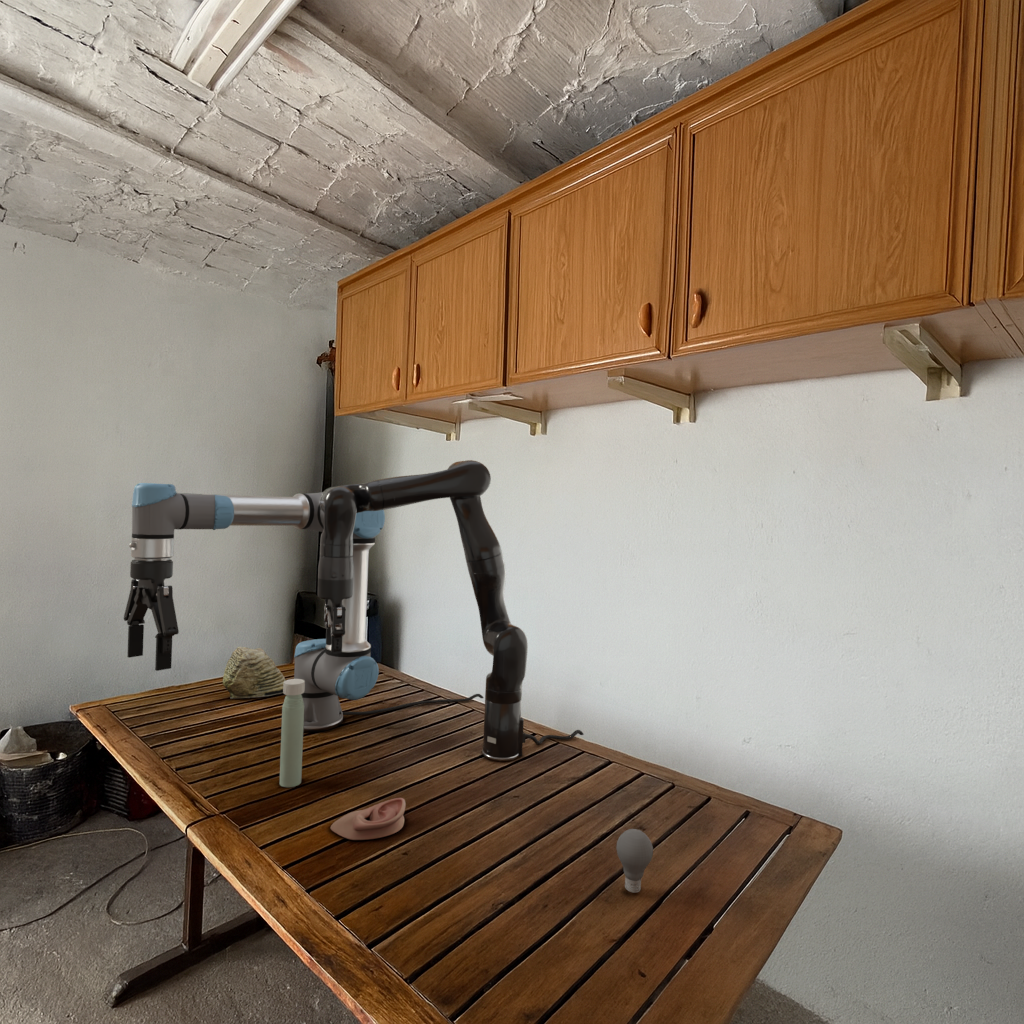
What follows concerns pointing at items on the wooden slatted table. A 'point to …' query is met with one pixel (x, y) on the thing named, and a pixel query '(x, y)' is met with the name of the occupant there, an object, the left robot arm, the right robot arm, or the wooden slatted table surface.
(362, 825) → the anatomical model
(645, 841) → the light bulb
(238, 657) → the fossil
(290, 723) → the bottle
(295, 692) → the cap
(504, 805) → the wooden slatted table surface
